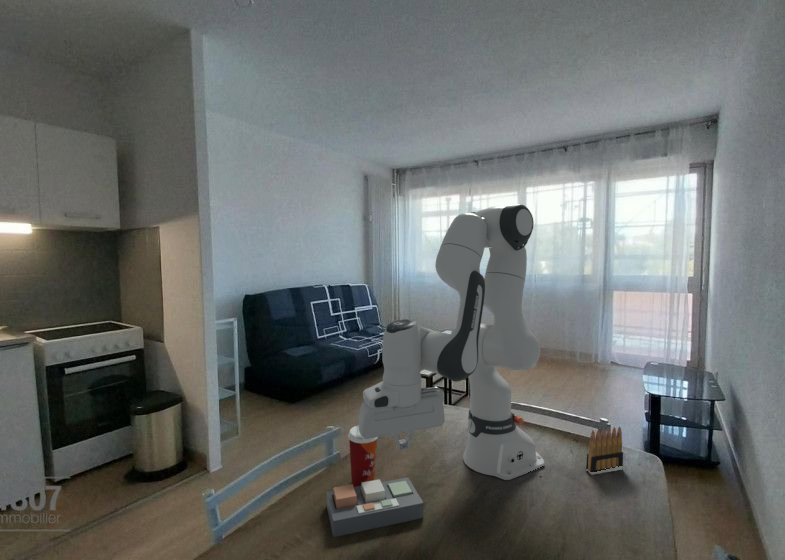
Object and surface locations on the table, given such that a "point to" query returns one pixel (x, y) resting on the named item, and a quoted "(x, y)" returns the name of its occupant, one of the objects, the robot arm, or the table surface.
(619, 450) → the ammunition clip
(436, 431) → the table surface
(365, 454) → the paper cup
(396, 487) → the key sage
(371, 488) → the key white
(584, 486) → the table surface
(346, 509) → the keypad housing
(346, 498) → the key terracotta
